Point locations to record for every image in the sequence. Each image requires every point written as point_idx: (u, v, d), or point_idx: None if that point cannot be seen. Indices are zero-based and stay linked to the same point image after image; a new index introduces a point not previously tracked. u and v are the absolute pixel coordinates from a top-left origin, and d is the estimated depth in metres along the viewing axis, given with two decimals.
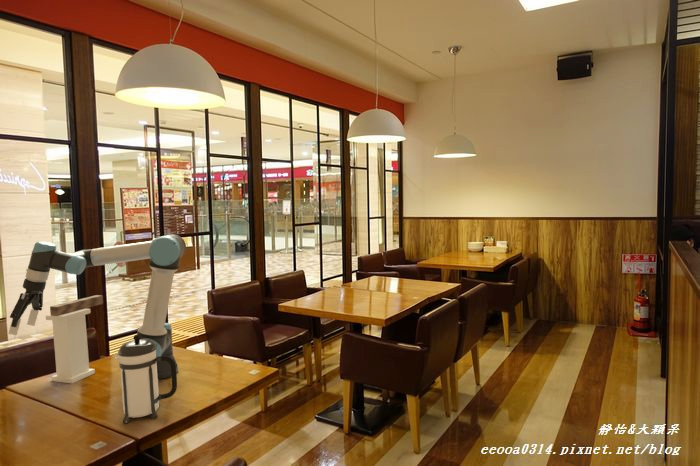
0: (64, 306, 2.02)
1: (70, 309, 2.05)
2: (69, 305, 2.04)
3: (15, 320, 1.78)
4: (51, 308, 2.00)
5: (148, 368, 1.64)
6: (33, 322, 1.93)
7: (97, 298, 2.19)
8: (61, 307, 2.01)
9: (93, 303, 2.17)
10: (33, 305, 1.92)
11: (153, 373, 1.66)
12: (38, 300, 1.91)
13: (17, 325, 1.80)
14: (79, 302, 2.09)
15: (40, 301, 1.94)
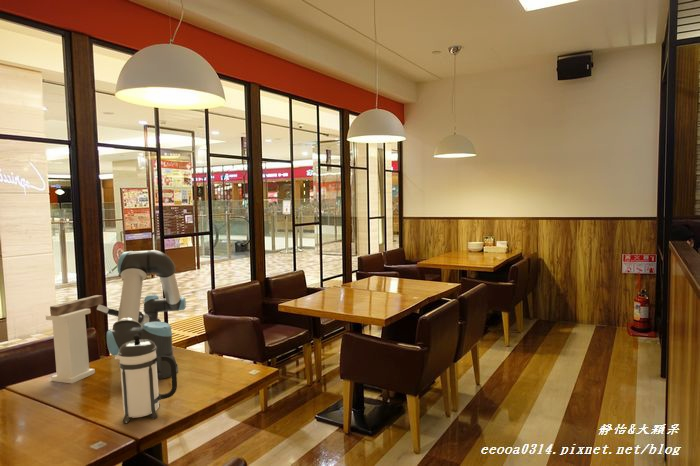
0: (64, 306, 2.02)
1: (70, 309, 2.05)
2: (69, 305, 2.04)
3: None
4: (51, 308, 2.00)
5: (148, 368, 1.64)
6: (100, 309, 2.30)
7: (97, 298, 2.19)
8: (61, 307, 2.01)
9: (93, 303, 2.17)
10: (112, 310, 2.37)
11: (153, 373, 1.66)
12: (117, 315, 2.38)
13: None
14: (79, 302, 2.09)
15: None
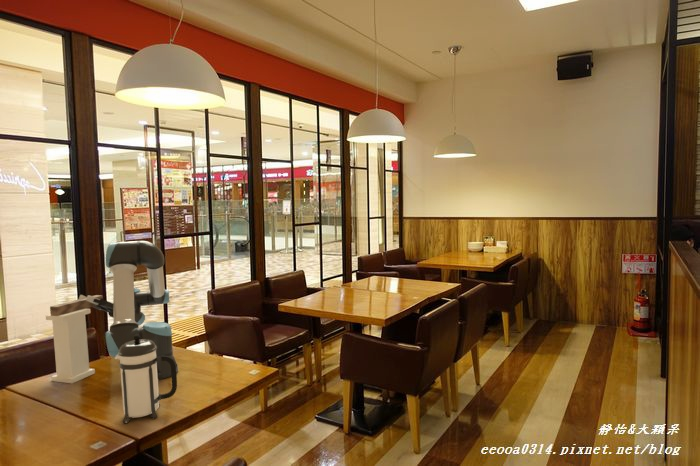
0: (64, 306, 2.02)
1: (70, 309, 2.05)
2: (69, 305, 2.04)
3: (99, 302, 2.18)
4: (51, 308, 2.00)
5: (148, 368, 1.64)
6: None
7: None
8: (61, 307, 2.01)
9: None
10: None
11: (153, 373, 1.66)
12: (98, 307, 2.25)
13: (93, 302, 2.16)
14: (79, 302, 2.09)
15: None
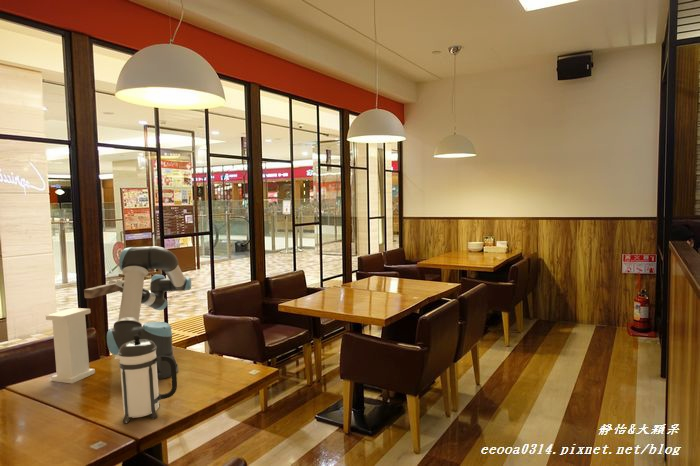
0: (97, 289, 2.18)
1: (102, 292, 2.21)
2: (101, 288, 2.21)
3: None
4: (85, 291, 2.16)
5: (148, 368, 1.64)
6: None
7: None
8: (94, 290, 2.17)
9: None
10: None
11: (153, 373, 1.66)
12: None
13: (122, 286, 2.32)
14: (109, 286, 2.26)
15: None
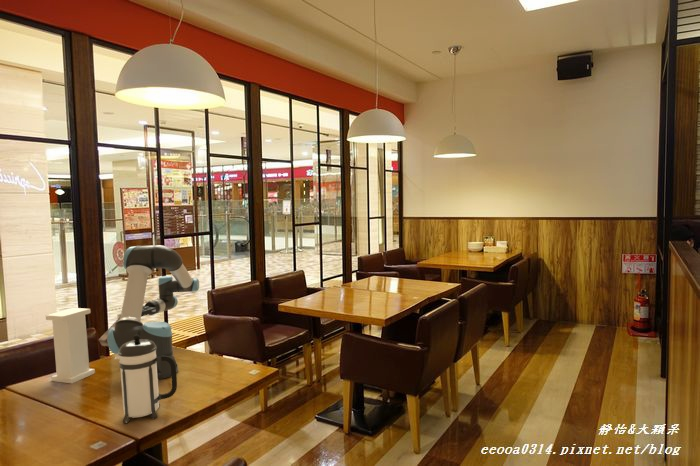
0: None
1: None
2: None
3: None
4: (100, 341, 2.22)
5: (148, 368, 1.64)
6: (120, 317, 2.35)
7: None
8: None
9: None
10: None
11: (153, 373, 1.66)
12: None
13: None
14: None
15: None
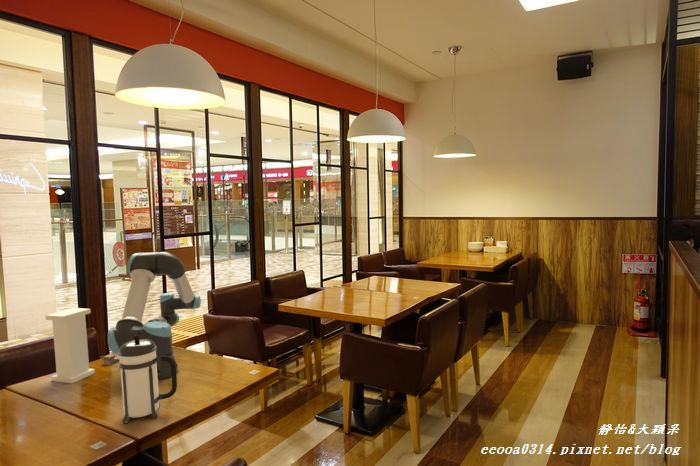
0: (115, 356, 2.26)
1: None
2: None
3: None
4: (104, 358, 2.24)
5: (148, 368, 1.64)
6: None
7: None
8: (113, 357, 2.25)
9: None
10: None
11: (153, 373, 1.66)
12: None
13: None
14: None
15: None
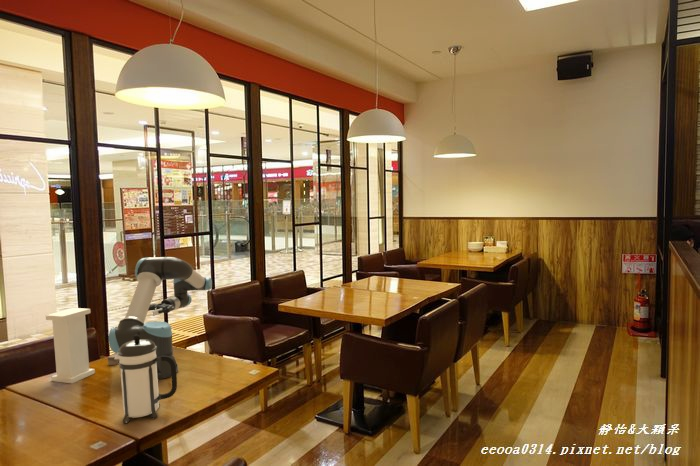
0: None
1: None
2: None
3: (163, 311, 2.50)
4: (109, 358, 2.23)
5: (148, 368, 1.64)
6: None
7: None
8: None
9: None
10: None
11: (153, 373, 1.66)
12: None
13: (159, 313, 2.48)
14: None
15: None
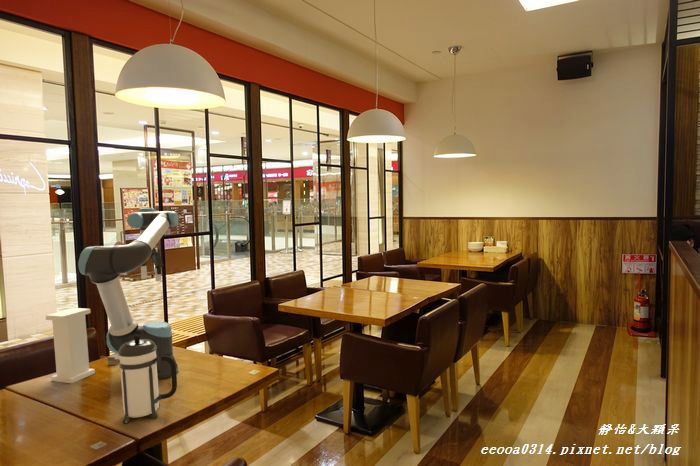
0: None
1: None
2: None
3: (160, 268, 2.29)
4: (109, 358, 2.23)
5: (148, 368, 1.64)
6: (145, 275, 2.39)
7: None
8: None
9: None
10: None
11: (153, 373, 1.66)
12: None
13: None
14: None
15: None
